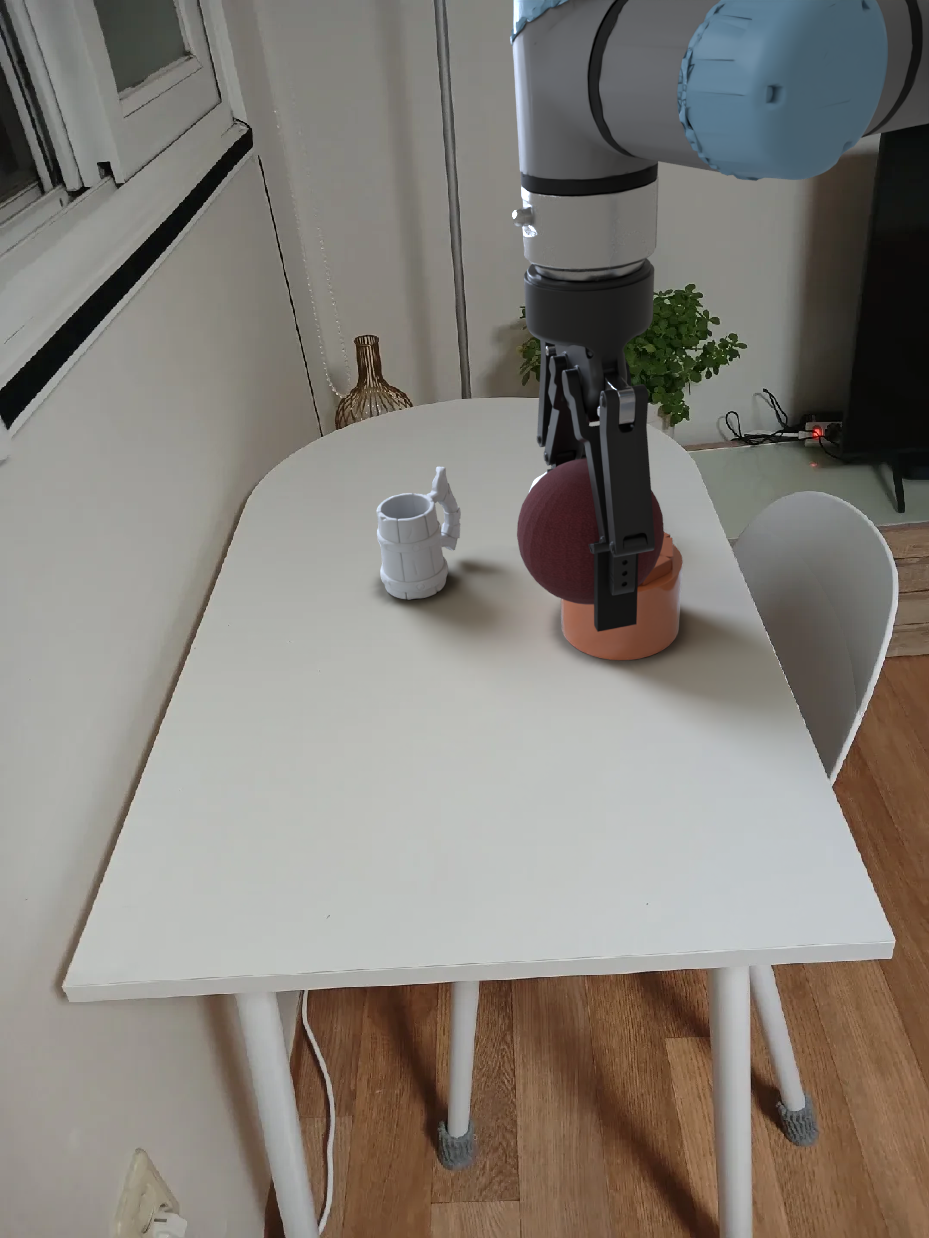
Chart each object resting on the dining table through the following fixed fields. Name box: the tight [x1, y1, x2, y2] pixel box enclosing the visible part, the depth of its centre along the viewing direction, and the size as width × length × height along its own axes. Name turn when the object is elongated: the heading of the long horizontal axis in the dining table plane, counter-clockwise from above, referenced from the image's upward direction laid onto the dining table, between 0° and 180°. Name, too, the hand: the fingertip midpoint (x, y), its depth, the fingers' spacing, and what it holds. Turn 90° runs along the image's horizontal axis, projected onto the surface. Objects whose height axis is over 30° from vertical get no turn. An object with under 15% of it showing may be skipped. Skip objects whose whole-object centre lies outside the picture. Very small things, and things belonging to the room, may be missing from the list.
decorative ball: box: [516, 458, 665, 605], centre depth 65 cm, size 10×10×10 cm
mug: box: [376, 465, 462, 600], centre depth 106 cm, size 8×12×12 cm, turn 140°
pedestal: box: [560, 531, 684, 661], centre depth 96 cm, size 12×12×10 cm
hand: (590, 583), depth 68 cm, fingers closed on decorative ball, 10 cm apart
